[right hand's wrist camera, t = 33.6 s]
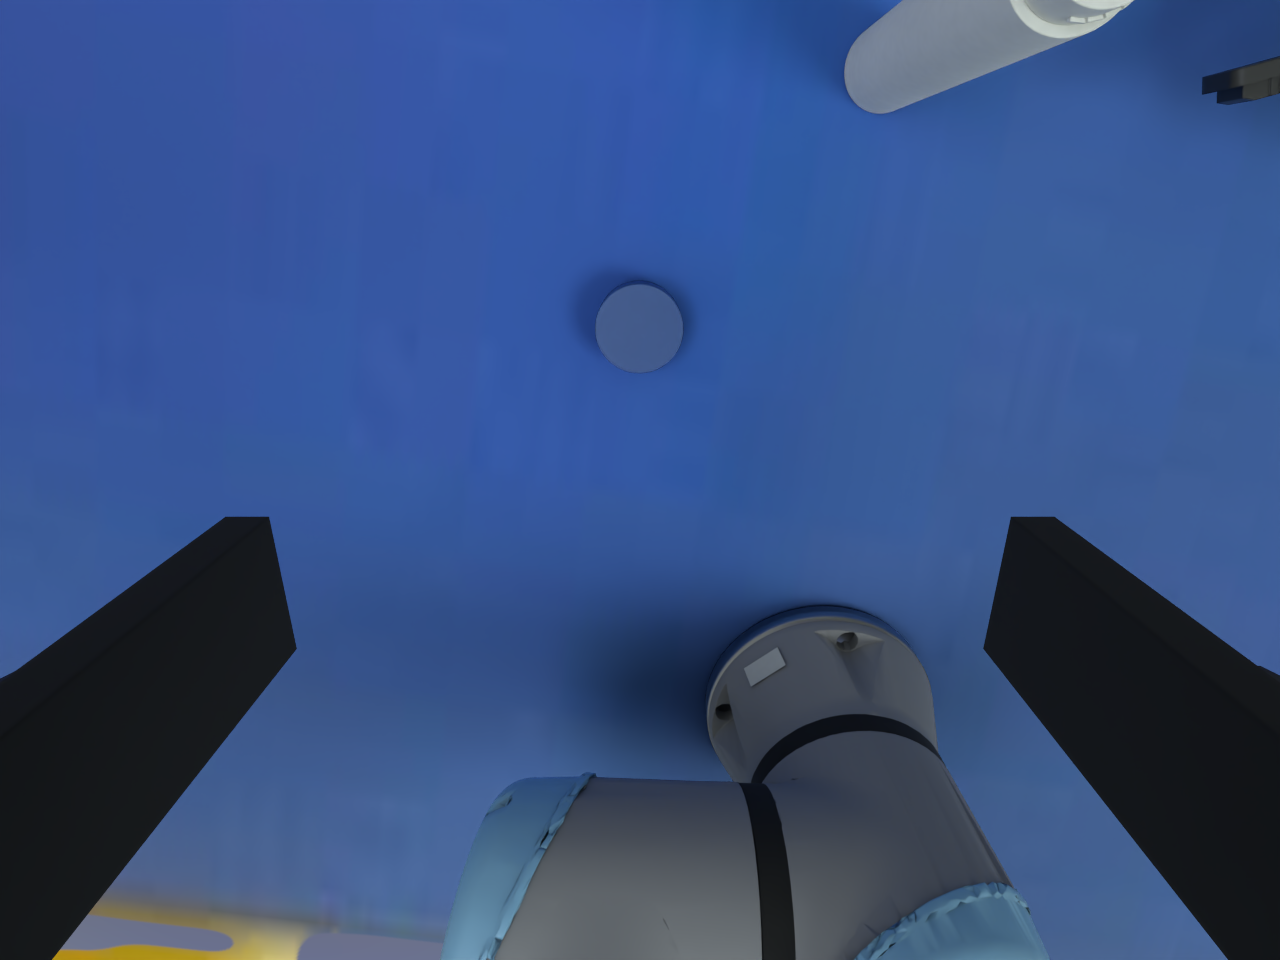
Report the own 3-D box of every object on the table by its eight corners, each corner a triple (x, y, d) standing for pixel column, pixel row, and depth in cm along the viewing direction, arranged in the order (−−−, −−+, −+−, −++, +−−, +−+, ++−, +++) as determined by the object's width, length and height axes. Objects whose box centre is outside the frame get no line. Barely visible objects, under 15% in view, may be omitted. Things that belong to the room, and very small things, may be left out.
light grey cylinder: (938, 39, 35) (1232, -130, 18) (902, 125, 36) (1141, 46, 19) (864, 9, 34) (1091, -196, 17) (831, 97, 36) (1009, -10, 18)
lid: (604, 371, 41) (603, 379, 39) (590, 287, 39) (587, 291, 37) (686, 359, 41) (688, 366, 39) (675, 274, 39) (677, 277, 37)
